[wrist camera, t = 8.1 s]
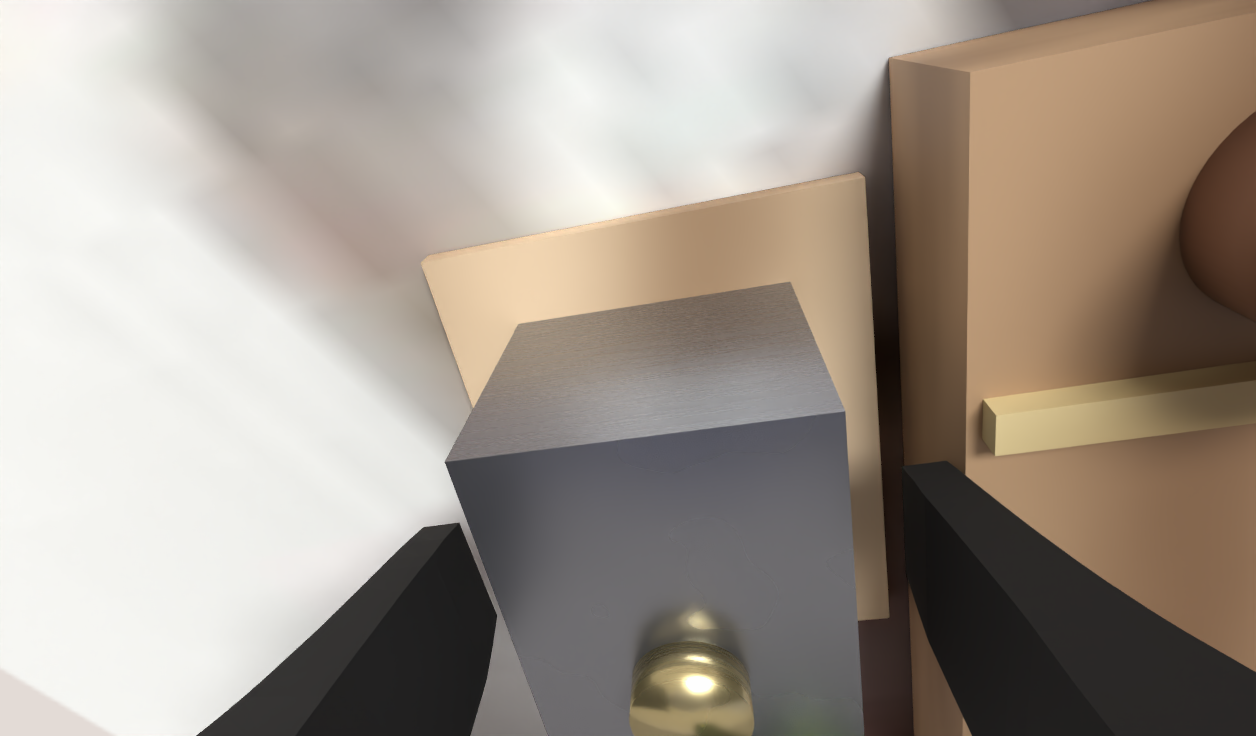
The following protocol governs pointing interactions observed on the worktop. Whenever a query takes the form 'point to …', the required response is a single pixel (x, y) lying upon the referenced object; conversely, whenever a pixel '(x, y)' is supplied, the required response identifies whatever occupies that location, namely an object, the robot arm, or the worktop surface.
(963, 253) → the body
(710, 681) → the grey block with knob
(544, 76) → the worktop surface
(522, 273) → the cork trivet
